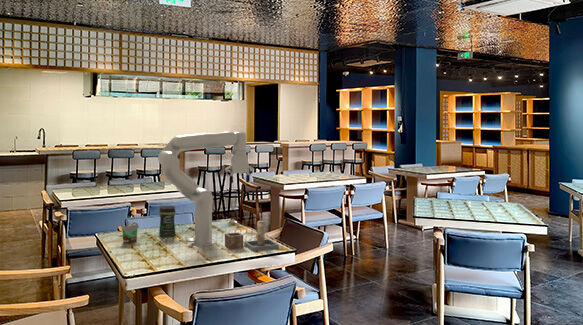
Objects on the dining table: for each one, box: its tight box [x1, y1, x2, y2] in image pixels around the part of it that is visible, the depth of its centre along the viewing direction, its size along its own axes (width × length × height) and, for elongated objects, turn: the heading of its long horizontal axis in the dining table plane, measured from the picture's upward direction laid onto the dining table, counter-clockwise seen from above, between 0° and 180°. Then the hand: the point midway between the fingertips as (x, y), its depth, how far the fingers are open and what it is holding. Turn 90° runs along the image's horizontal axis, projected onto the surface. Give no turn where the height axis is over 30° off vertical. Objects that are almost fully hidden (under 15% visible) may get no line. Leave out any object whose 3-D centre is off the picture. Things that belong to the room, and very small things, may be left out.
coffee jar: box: [158, 205, 176, 238], centre depth 286 cm, size 10×8×19 cm
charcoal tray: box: [243, 238, 280, 252], centre depth 258 cm, size 15×14×3 cm
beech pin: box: [257, 220, 266, 246], centre depth 257 cm, size 4×4×14 cm
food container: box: [121, 222, 140, 244], centre depth 272 cm, size 12×6×10 cm, turn 168°
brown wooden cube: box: [224, 232, 244, 251], centre depth 257 cm, size 8×8×8 cm
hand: (239, 182), depth 274 cm, fingers open, 9 cm apart
